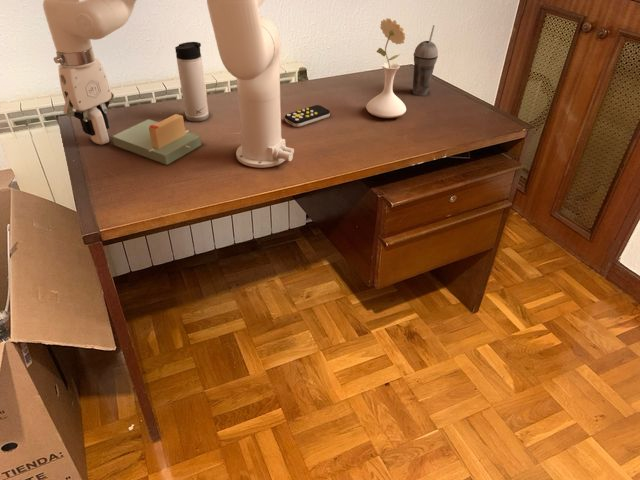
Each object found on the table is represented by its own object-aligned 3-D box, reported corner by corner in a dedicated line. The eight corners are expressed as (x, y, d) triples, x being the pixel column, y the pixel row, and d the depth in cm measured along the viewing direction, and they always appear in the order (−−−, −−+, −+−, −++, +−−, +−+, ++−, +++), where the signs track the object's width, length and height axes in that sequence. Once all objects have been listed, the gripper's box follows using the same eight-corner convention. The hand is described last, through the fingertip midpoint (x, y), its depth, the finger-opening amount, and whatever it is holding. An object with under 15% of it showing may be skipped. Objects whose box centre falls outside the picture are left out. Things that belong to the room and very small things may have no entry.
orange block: (179, 132, 123) (175, 112, 119) (185, 134, 122) (182, 114, 118) (152, 146, 117) (148, 126, 113) (159, 149, 116) (154, 128, 112)
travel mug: (205, 123, 133) (194, 47, 121) (182, 120, 134) (169, 45, 122) (213, 113, 138) (204, 40, 125) (191, 111, 139) (180, 38, 126)
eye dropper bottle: (91, 146, 121) (77, 100, 114) (91, 137, 125) (78, 91, 118) (110, 144, 122) (97, 98, 115) (109, 134, 126) (97, 89, 119)
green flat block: (209, 146, 123) (208, 136, 121) (171, 168, 114) (169, 158, 112) (151, 126, 130) (150, 117, 129) (112, 146, 122) (109, 136, 120)
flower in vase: (412, 118, 138) (426, 25, 123) (376, 124, 135) (386, 29, 119) (390, 101, 148) (401, 12, 132) (356, 106, 144) (363, 15, 129)
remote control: (332, 116, 138) (332, 110, 137) (296, 128, 131) (296, 121, 130) (318, 109, 142) (318, 103, 140) (282, 120, 135) (282, 114, 134)
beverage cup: (404, 89, 155) (413, 22, 143) (425, 87, 157) (435, 21, 145) (414, 98, 150) (424, 29, 137) (435, 96, 152) (447, 28, 139)
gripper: (54, 70, 104) (79, 147, 115) (117, 50, 115) (133, 122, 126) (32, 63, 107) (58, 139, 118) (95, 44, 118) (113, 115, 129)
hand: (97, 130), depth 122 cm, fingers closed on eye dropper bottle, 3 cm apart
